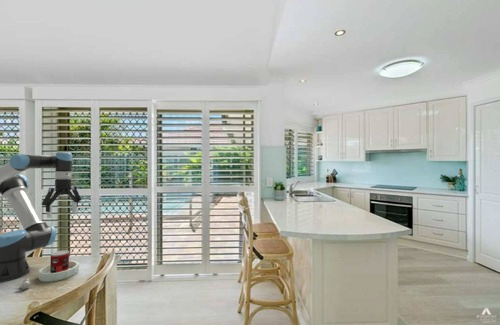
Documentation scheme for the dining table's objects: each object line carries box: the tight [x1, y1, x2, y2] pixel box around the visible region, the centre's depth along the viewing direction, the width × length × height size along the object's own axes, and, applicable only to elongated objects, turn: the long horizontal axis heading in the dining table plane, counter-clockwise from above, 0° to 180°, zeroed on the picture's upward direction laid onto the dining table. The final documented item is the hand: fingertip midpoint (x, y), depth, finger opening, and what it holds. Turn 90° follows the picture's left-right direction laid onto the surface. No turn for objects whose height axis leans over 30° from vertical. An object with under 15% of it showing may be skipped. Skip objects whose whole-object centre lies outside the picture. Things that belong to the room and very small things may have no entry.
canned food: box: [49, 249, 70, 273], centre depth 131 cm, size 8×8×11 cm
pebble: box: [20, 281, 32, 290], centre depth 116 cm, size 4×4×4 cm
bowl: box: [38, 260, 80, 283], centre depth 131 cm, size 17×17×4 cm
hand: (62, 215), depth 137 cm, fingers open, 13 cm apart
